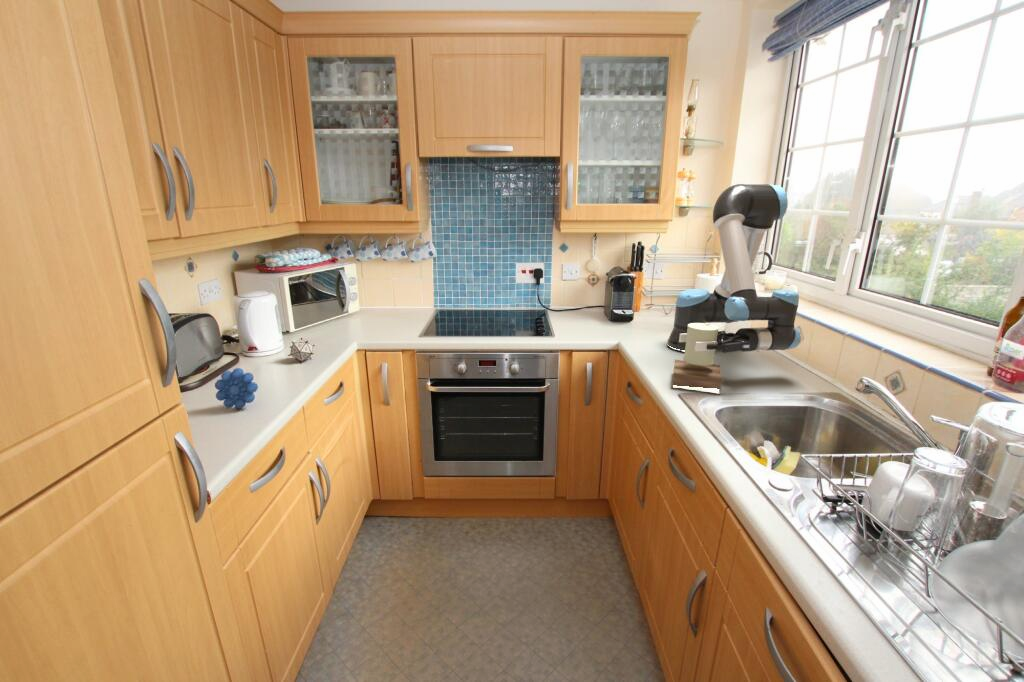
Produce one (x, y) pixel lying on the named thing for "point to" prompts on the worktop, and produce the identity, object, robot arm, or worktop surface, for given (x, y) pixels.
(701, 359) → the can
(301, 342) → the grey spiked polyhedron
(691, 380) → the walnut block
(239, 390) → the blue knobbed ball
